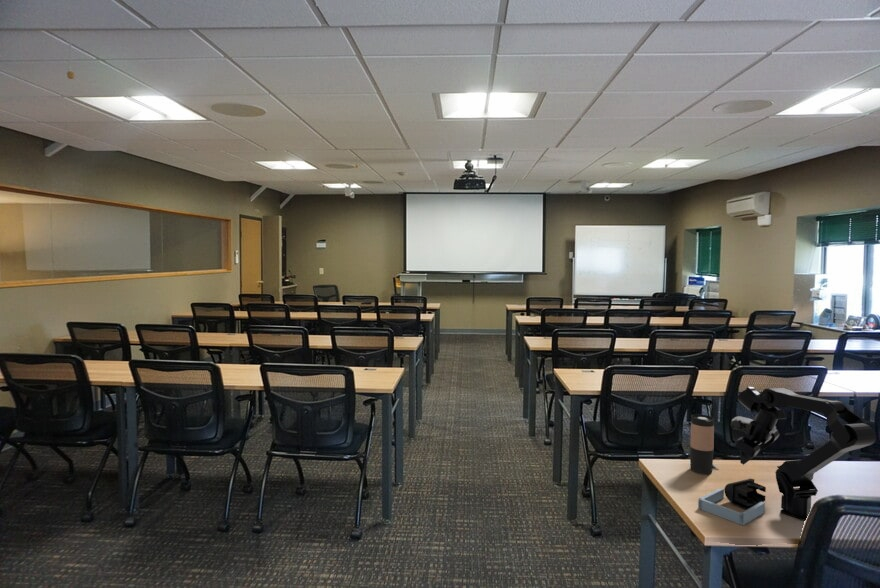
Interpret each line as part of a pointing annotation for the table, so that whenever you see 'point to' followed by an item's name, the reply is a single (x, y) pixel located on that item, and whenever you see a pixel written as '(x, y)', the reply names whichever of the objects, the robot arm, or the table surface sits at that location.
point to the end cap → (744, 493)
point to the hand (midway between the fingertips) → (748, 458)
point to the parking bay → (741, 518)
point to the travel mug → (701, 443)
